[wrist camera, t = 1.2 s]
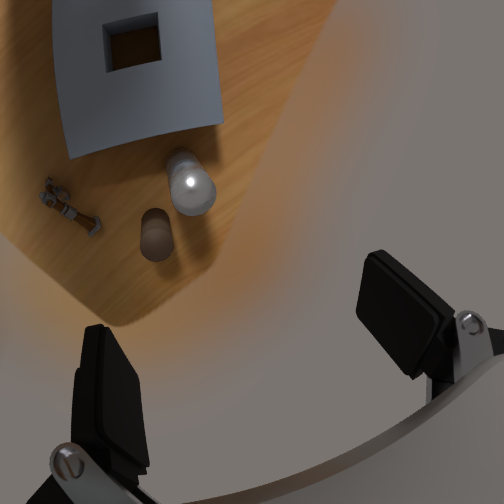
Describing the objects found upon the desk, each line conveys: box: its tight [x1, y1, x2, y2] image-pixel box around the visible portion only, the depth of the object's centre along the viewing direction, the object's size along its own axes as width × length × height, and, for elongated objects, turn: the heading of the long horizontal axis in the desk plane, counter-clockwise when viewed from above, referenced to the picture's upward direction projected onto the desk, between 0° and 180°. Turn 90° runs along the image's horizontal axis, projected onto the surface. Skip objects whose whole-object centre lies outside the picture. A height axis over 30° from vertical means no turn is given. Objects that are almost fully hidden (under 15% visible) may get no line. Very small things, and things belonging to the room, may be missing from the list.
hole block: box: [52, 0, 224, 160], centre depth 19 cm, size 18×14×5 cm
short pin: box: [140, 208, 173, 262], centre depth 29 cm, size 3×3×6 cm
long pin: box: [166, 148, 216, 216], centre depth 24 cm, size 3×3×11 cm
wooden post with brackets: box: [39, 177, 101, 237], centre depth 25 cm, size 2×8×4 cm, turn 34°
